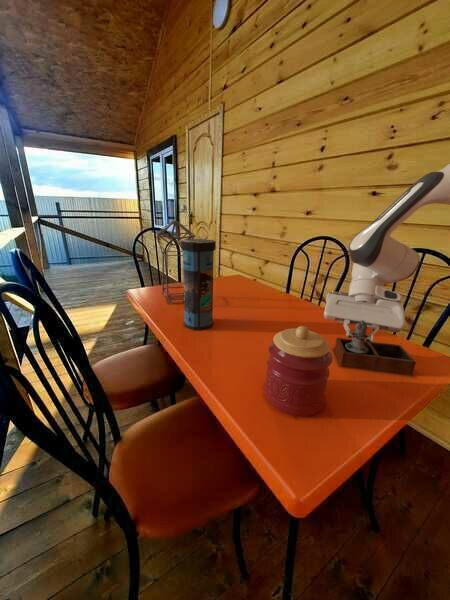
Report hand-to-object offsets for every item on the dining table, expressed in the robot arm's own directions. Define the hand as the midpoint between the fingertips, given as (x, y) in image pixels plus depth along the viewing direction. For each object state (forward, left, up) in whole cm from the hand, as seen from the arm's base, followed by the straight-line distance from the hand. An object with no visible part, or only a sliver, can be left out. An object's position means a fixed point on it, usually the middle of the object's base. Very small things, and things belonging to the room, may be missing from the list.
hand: (358, 339), depth 70 cm
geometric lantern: (+67, -34, -8) cm, 75 cm away
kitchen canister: (+18, +19, -7) cm, 27 cm away
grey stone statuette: (0, -1, -7) cm, 7 cm away
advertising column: (+50, -12, -7) cm, 52 cm away
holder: (-4, -1, -7) cm, 9 cm away
